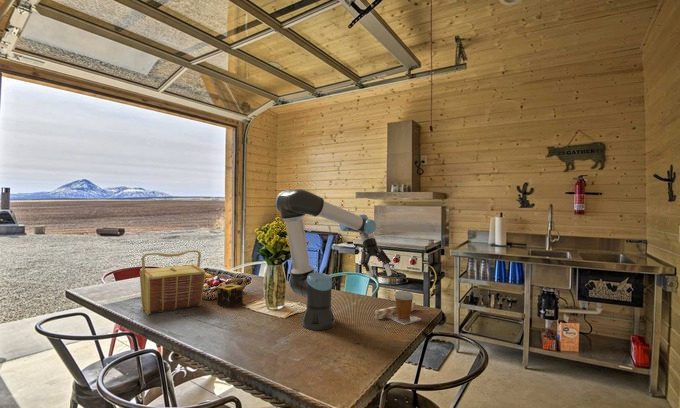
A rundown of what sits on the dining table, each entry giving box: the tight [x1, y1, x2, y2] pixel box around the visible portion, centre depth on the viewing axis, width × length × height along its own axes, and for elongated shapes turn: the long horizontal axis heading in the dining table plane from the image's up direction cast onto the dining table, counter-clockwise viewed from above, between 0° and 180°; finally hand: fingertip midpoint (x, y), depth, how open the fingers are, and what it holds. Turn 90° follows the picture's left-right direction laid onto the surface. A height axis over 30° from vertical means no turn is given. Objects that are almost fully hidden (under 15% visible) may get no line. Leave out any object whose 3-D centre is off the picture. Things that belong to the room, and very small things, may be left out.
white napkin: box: [386, 314, 422, 326], centre depth 163 cm, size 12×12×1 cm
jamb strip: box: [374, 301, 416, 320], centre depth 170 cm, size 28×2×4 cm, turn 126°
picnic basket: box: [139, 249, 206, 315], centre depth 175 cm, size 29×26×30 cm
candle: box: [216, 283, 244, 308], centre depth 183 cm, size 10×10×10 cm
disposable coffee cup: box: [394, 290, 414, 319], centre depth 163 cm, size 10×10×12 cm
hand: (380, 276), depth 173 cm, fingers open, 13 cm apart
